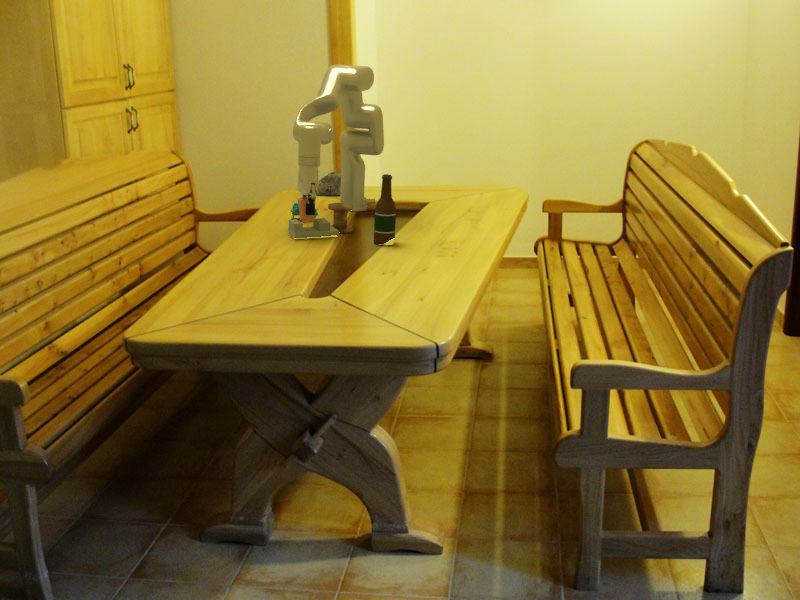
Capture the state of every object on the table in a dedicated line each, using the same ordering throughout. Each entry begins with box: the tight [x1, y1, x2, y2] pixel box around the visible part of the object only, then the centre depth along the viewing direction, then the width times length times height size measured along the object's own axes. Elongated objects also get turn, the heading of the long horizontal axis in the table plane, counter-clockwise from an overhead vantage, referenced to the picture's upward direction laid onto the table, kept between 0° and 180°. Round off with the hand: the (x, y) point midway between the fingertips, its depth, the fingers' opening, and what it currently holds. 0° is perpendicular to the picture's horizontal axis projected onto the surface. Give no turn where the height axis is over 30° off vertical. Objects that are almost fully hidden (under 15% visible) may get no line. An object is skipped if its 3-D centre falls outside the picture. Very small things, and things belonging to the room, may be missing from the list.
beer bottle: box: [373, 174, 397, 245], centre depth 336 cm, size 8×8×24 cm
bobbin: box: [327, 202, 353, 235], centre depth 354 cm, size 9×9×9 cm
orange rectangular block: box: [297, 196, 316, 224], centre depth 341 cm, size 4×4×8 cm
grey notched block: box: [287, 217, 340, 239], centre depth 344 cm, size 16×8×6 cm, turn 112°
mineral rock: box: [318, 171, 341, 196], centre depth 416 cm, size 13×11×10 cm
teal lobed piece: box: [290, 201, 319, 221], centre depth 367 cm, size 11×6×10 cm
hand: (308, 212), depth 342 cm, fingers closed on orange rectangular block, 4 cm apart
